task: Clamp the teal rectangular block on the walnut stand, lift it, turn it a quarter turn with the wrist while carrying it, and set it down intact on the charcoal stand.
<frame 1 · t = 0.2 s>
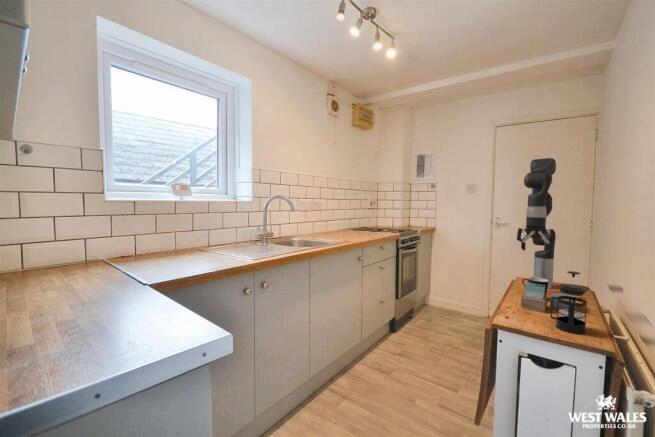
hand: (534, 250, 140), 27 cm above the table, tool pointing down, fingers open, 8 cm apart
coffee mug: (535, 297, 156), on the table
teal rectangular block: (534, 297, 142), point 5 cm above the table, touching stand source
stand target: (562, 307, 143), on the table
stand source: (534, 307, 142), on the table
french press: (568, 329, 119), on the table
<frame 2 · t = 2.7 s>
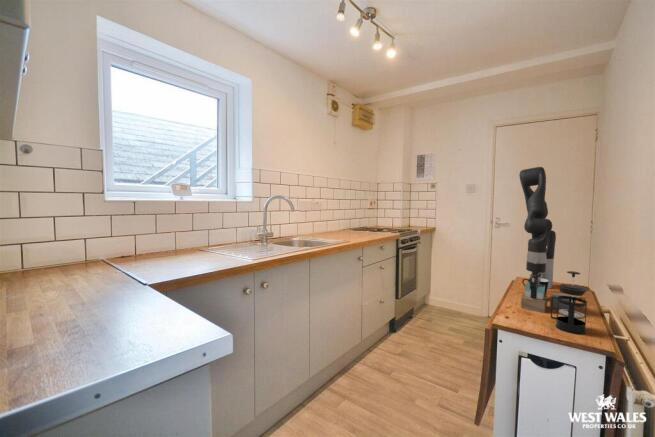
hand: (534, 296, 142), 5 cm above the table, tool pointing down, fingers closed on teal rectangular block, 5 cm apart
teal rectangular block: (534, 297, 142), point 5 cm above the table, touching gripper, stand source
everything else where it was.
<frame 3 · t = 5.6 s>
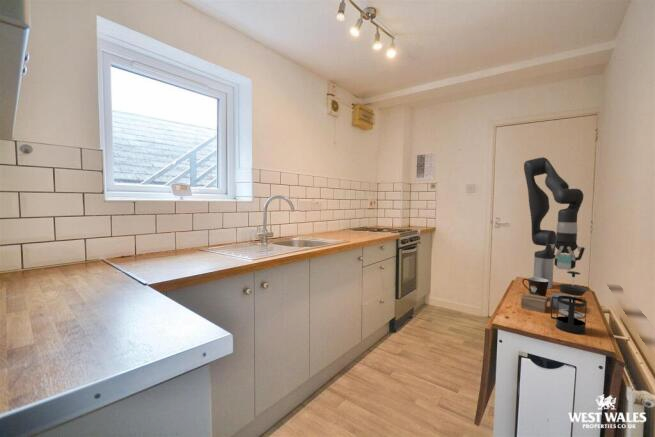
hand: (564, 267, 141), 19 cm above the table, tool pointing down, fingers closed on teal rectangular block, 5 cm apart
teal rectangular block: (564, 268, 141), point 19 cm above the table, touching gripper
everything else where it was.
when the fingers open (7 cm above the table, at t = 8.2 s): teal rectangular block drops 1 cm, resting on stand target.
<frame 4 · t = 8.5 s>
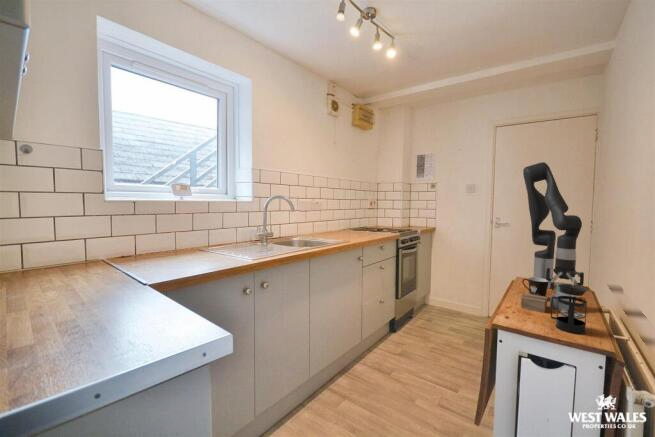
hand: (563, 291, 142), 7 cm above the table, tool pointing down, fingers open, 7 cm apart
teal rectangular block: (563, 296, 142), point 5 cm above the table, touching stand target
everything else where it was.
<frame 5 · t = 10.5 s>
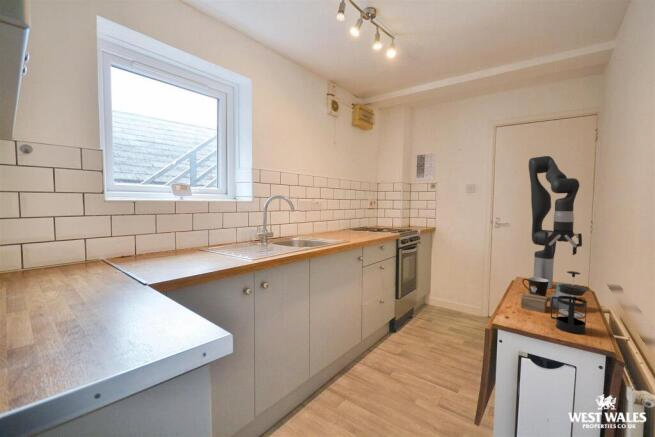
hand: (562, 253, 145), 25 cm above the table, tool pointing down, fingers open, 8 cm apart
nothing on the table moved.
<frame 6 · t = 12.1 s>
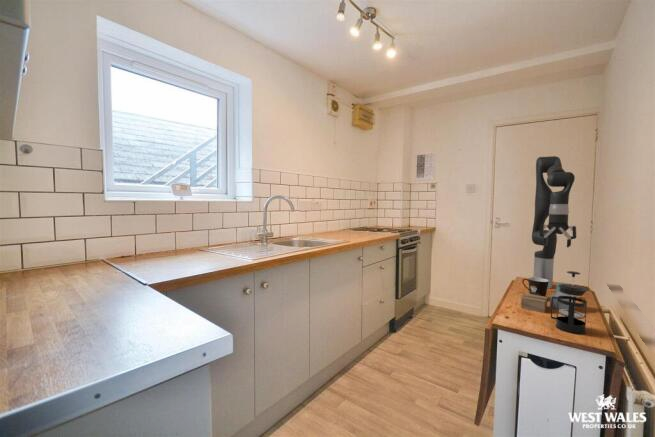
hand: (556, 246, 148), 28 cm above the table, tool pointing down, fingers open, 8 cm apart
nothing on the table moved.
at the end: teal rectangular block 0.1 cm off-centre on the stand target, point 5.0 cm above the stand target's base; teal rectangular block tilted 0°; the gripper is holding nothing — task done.
